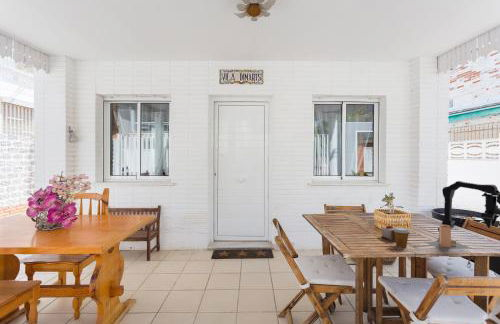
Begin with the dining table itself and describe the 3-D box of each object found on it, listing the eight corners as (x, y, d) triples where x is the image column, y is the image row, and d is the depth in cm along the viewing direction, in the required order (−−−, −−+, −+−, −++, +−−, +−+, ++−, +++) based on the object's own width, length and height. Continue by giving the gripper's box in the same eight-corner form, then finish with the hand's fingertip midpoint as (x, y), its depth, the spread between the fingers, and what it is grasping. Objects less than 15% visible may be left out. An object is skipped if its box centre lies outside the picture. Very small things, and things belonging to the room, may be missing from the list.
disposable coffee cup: (412, 247, 198) (412, 229, 198) (401, 248, 195) (401, 230, 195) (401, 243, 207) (401, 226, 207) (390, 244, 204) (390, 227, 204)
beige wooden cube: (449, 245, 202) (449, 238, 202) (455, 245, 201) (455, 239, 201) (450, 246, 200) (450, 240, 200) (456, 247, 198) (456, 240, 198)
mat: (440, 249, 192) (440, 249, 192) (423, 242, 209) (423, 241, 209) (472, 249, 194) (472, 248, 194) (452, 242, 211) (452, 241, 211)
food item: (379, 236, 225) (379, 224, 225) (388, 236, 227) (388, 223, 227) (391, 241, 212) (391, 228, 212) (400, 241, 213) (400, 227, 213)
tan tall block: (439, 244, 203) (439, 224, 203) (448, 245, 201) (449, 225, 201) (440, 246, 198) (441, 226, 198) (450, 247, 196) (450, 226, 196)
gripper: (502, 206, 182) (502, 231, 182) (510, 203, 193) (510, 226, 193) (480, 204, 191) (480, 228, 191) (489, 201, 202) (489, 223, 202)
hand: (491, 226), depth 194 cm, fingers open, 9 cm apart
